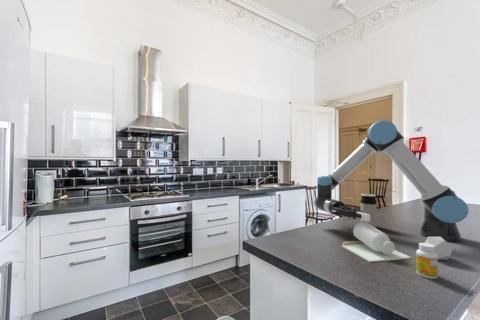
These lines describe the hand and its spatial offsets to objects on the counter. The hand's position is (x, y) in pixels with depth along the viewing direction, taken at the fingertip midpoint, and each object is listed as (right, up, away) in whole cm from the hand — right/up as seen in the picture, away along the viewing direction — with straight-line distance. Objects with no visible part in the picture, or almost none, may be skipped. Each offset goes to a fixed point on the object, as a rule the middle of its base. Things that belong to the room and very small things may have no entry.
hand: (368, 218), depth 95 cm
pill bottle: (0, -6, +6) cm, 9 cm away
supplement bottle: (+7, -13, -22) cm, 26 cm away
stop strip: (-1, -13, +6) cm, 14 cm away
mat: (+1, -13, -3) cm, 13 cm away
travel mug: (+20, -14, +36) cm, 43 cm away
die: (+22, -13, -8) cm, 27 cm away
